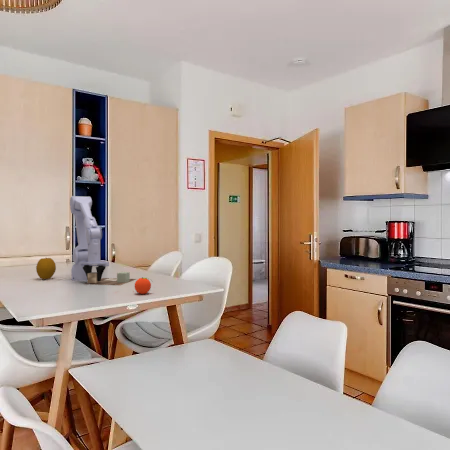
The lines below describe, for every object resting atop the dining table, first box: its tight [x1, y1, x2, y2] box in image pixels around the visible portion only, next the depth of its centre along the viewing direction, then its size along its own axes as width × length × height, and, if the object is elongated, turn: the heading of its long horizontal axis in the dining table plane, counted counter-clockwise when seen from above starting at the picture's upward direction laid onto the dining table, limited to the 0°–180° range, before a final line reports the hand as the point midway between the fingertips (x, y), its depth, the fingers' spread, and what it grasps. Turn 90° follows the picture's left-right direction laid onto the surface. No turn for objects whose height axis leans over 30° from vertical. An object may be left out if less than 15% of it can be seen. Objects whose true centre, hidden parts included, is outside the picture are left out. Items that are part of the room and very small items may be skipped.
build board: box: [84, 277, 137, 286], centre depth 202 cm, size 19×20×1 cm
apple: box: [35, 256, 57, 280], centre depth 216 cm, size 10×10×12 cm
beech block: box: [87, 271, 101, 283], centre depth 197 cm, size 4×4×4 cm
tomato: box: [134, 277, 154, 295], centre depth 175 cm, size 8×7×7 cm
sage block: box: [116, 271, 131, 284], centre depth 201 cm, size 4×4×4 cm
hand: (94, 281), depth 197 cm, fingers closed on beech block, 4 cm apart
